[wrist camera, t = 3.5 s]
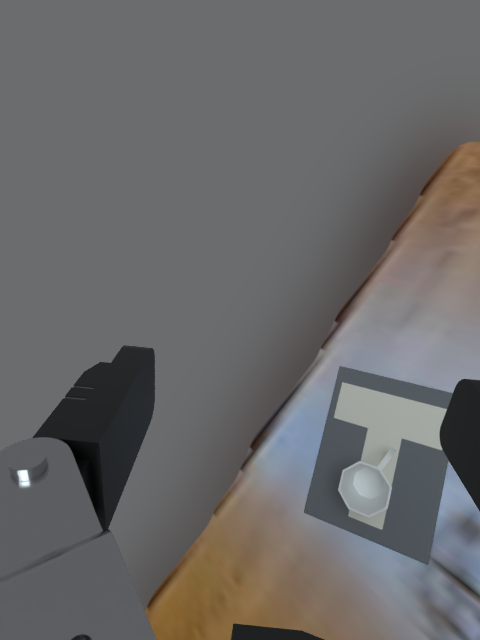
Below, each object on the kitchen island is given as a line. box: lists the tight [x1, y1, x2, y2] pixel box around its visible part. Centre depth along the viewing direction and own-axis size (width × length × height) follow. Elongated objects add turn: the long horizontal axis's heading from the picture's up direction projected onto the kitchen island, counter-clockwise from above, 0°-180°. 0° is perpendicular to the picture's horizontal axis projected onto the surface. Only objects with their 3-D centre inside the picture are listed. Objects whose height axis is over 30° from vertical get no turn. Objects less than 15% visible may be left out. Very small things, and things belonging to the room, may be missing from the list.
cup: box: [338, 447, 396, 518], centre depth 55 cm, size 7×10×8 cm
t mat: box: [304, 366, 453, 565], centre depth 59 cm, size 24×18×1 cm
